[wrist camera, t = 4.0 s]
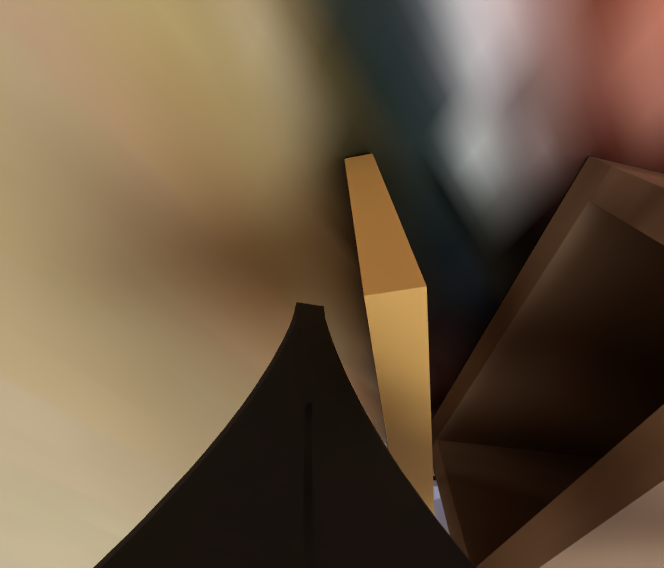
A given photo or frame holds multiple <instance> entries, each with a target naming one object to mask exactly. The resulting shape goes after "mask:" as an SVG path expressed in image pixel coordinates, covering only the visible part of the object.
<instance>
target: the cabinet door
mask: <svg viewBox="0 0 664 568" xmlns="http://www.w3.org/2000/svg"><path fill="white" fill-rule="evenodd" d="M344 160H345V167H346V173H347V180H348V187H349V194H350V201H351V208H352V215H353V222H354V229H355V236H356V243H357V250H358V257H359V264H360V271H361V278H362V285H363V292H364V299H365V305H366V311H367V317H368V324H369V330H370V336H371V343H372V349H373V355H374V361H375V368H376V374H377V380H378V386H379V393H380V399H381V405H382V412H383V418H384V424H385V430H386V437H387V448H388V451H389V452H390V454H391V455H392V457H393V458H394V460H395V461H396V463H397V464H398V466H399V467H400V469H401V470H402V472H403V473H404V475H405V476H406V477H407V479H408V480H409V481H410V483H411V484H412V486H413V487H414V488H415V490H416V491H417V492H418V494H419V495H420V497H421V498H422V499H423V501H424V502H425V503H426V505H427V506H428V508H429V509H430V510H431V512H432V513H433V514H434V487H433V458H432V429H431V400H430V370H429V341H428V312H427V286H426V284H425V281H424V279H423V276H422V274H421V271H420V269H419V267H418V264H417V262H416V259H415V257H414V254H413V252H412V249H411V247H410V244H409V242H408V240H407V237H406V235H405V232H404V230H403V227H402V225H401V222H400V220H399V218H398V215H397V213H396V210H395V208H394V205H393V203H392V200H391V198H390V195H389V193H388V191H387V188H386V186H385V183H384V181H383V178H382V176H381V173H380V171H379V168H378V166H377V164H376V161H375V159H374V156H373V154H367V155H362V156H356V157H351V158H345V159H344Z"/></svg>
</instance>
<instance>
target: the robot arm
mask: <svg viewBox="0 0 664 568" xmlns="http://www.w3.org/2000/svg"><path fill="white" fill-rule="evenodd" d="M433 487H434V514H433V513H432V512H431V510H430V509H429V508H428V506H427V505H426V503H425V502H424V501H423V499H422V498H421V497H420V495H419V494H418V492H417V491H416V490H415V488H414V487H413V486H412V484H411V483H410V481H409V480H408V479H407V477H406V476H405V475H404V473H403V472H402V470H401V469H400V467H399V466H398V464H397V463H396V461H395V460H394V458H393V457H392V455H391V454H390V452H389V451H388V449H387V447H386V446H385V444H384V443H383V441H382V439H381V438H380V436H379V434H378V433H377V431H376V430H375V428H374V426H373V425H372V423H371V421H370V419H369V418H368V416H367V414H366V412H365V410H364V408H363V407H362V405H361V403H360V401H359V399H358V397H357V395H356V393H355V391H354V389H353V387H352V385H351V383H350V381H349V379H348V377H347V375H346V372H345V370H344V368H343V365H342V363H341V361H340V358H339V356H338V354H337V351H336V349H335V346H334V344H333V341H332V338H331V335H330V333H329V330H328V326H327V323H326V320H325V313H324V306H317V305H311V304H304V303H296V306H295V312H294V315H293V319H292V321H291V324H290V326H289V329H288V331H287V333H286V335H285V337H284V339H283V341H282V343H281V345H280V347H279V348H278V350H277V352H276V354H275V356H274V358H273V359H272V361H271V363H270V364H269V366H268V368H267V369H266V371H265V372H264V374H263V375H262V377H261V378H260V380H259V382H258V383H257V385H256V386H255V388H254V389H253V391H252V392H251V394H250V395H249V396H248V398H247V399H246V401H245V402H244V403H243V405H242V406H241V407H240V409H239V410H238V411H237V413H236V414H235V415H234V417H233V418H232V419H231V421H230V422H229V423H228V424H227V426H226V427H225V428H224V429H223V431H222V432H221V433H220V434H219V435H218V437H217V438H216V439H215V440H214V441H213V443H212V444H211V445H210V446H209V448H208V449H207V450H206V451H205V452H204V454H203V455H202V456H201V457H200V458H199V459H198V460H197V462H196V463H195V464H194V465H193V466H192V467H191V468H190V470H189V471H188V472H187V473H186V474H185V475H184V476H183V477H182V478H181V479H180V480H179V481H178V482H177V484H176V485H175V486H174V487H173V488H172V489H171V490H170V491H169V492H168V493H167V494H166V495H165V496H164V497H163V498H162V499H161V501H160V502H159V503H158V504H157V505H156V506H155V507H154V508H153V509H152V510H151V511H150V512H149V513H148V514H147V515H146V517H145V518H144V519H143V520H142V521H141V522H140V523H139V524H138V525H137V526H136V527H135V528H134V529H133V530H132V531H131V532H130V533H129V534H128V535H127V536H126V537H125V538H124V539H123V540H122V541H120V542H119V543H118V544H117V545H116V546H115V547H114V548H113V549H112V550H111V551H110V552H109V553H108V554H107V555H106V556H105V557H104V558H103V559H102V560H101V561H100V562H99V563H98V564H97V565H96V566H95V567H94V568H476V567H475V566H474V565H473V564H472V562H471V561H470V560H469V559H468V558H467V556H466V555H465V554H464V553H463V551H462V550H461V549H460V548H459V546H458V545H457V544H456V543H455V541H454V540H453V539H452V538H451V536H450V534H449V530H448V526H447V522H446V518H445V514H444V510H443V506H442V502H441V498H440V494H439V490H438V486H437V482H436V480H433Z"/></svg>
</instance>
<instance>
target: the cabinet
mask: <svg viewBox="0 0 664 568" xmlns="http://www.w3.org/2000/svg"><path fill="white" fill-rule="evenodd" d="M431 429H432V458H433V469H434V473H435V477H436V482H437V486H438V490H439V494H440V498H441V502H442V506H443V510H444V514H445V518H446V522H447V526H448V530H449V534H450V536H451V538H452V539H453V540H454V541H455V543H456V544H457V545H458V546H459V548H460V549H461V550H462V551H463V553H464V554H465V555H466V556H467V558H468V559H469V560H470V561H471V562H472V564H473V565H474V566H475V567H476V568H664V173H660V172H656V171H651V170H647V169H643V168H638V167H634V166H630V165H625V164H621V163H616V162H612V161H608V160H603V159H599V158H595V157H590V156H589V157H588V158H587V160H586V162H585V164H584V165H583V167H582V169H581V170H580V172H579V174H578V175H577V177H576V179H575V180H574V182H573V184H572V185H571V187H570V189H569V190H568V192H567V194H566V195H565V197H564V199H563V201H562V202H561V204H560V206H559V207H558V209H557V211H556V212H555V214H554V216H553V217H552V219H551V221H550V222H549V224H548V226H547V227H546V229H545V231H544V232H543V234H542V236H541V237H540V239H539V241H538V243H537V244H536V246H535V248H534V249H533V251H532V253H531V254H530V256H529V258H528V259H527V261H526V263H525V264H524V266H523V268H522V269H521V271H520V273H519V274H518V276H517V278H516V279H515V281H514V283H513V285H512V286H511V288H510V290H509V291H508V293H507V295H506V296H505V298H504V300H503V301H502V303H501V305H500V306H499V308H498V310H497V311H496V313H495V315H494V316H493V318H492V320H491V322H490V323H489V325H488V327H487V328H486V330H485V332H484V333H483V335H482V337H481V338H480V340H479V342H478V343H477V345H476V347H475V348H474V350H473V352H472V353H471V355H470V357H469V358H468V360H467V362H466V364H465V365H464V367H463V369H462V370H461V372H460V374H459V375H458V377H457V379H456V380H455V382H454V384H453V385H452V387H451V389H450V390H449V392H448V394H447V395H446V397H445V399H444V401H443V402H442V404H441V406H440V407H439V409H438V411H437V412H436V414H435V416H434V417H433V419H432V421H431Z"/></svg>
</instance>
